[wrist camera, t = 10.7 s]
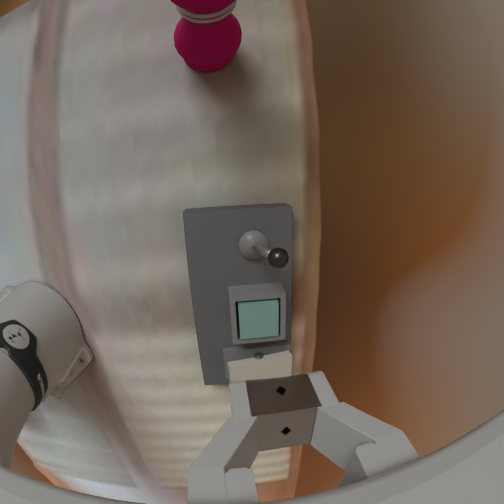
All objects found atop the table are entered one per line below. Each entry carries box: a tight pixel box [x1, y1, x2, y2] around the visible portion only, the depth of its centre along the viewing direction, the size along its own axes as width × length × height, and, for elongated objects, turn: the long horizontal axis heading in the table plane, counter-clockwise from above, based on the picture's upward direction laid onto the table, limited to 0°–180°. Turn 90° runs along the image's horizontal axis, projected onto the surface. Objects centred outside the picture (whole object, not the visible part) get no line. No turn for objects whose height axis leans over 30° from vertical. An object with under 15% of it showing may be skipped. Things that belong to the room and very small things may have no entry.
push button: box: [237, 298, 279, 339], centre depth 34 cm, size 4×4×3 cm
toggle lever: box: [252, 243, 289, 269], centre depth 30 cm, size 2×2×6 cm
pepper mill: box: [171, 0, 242, 72], centre depth 19 cm, size 7×7×20 cm
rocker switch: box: [227, 350, 292, 382], centre depth 36 cm, size 4×8×2 cm, turn 92°
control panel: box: [183, 203, 292, 385], centre depth 35 cm, size 24×12×6 cm, turn 2°
